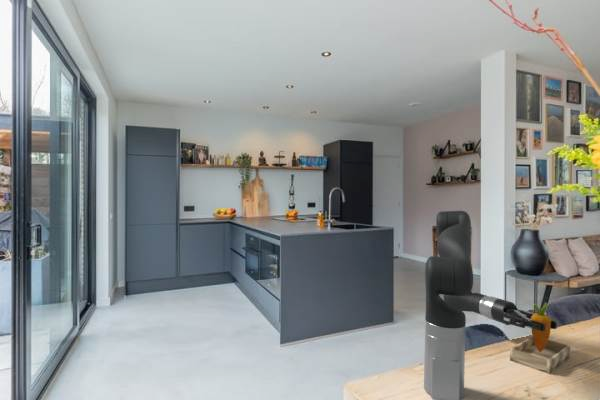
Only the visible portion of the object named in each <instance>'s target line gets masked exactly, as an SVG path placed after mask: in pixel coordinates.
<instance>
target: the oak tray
mask: <svg viewBox="0 0 600 400" xmlns="http://www.w3.org/2000/svg"><path fill="white" fill-rule="evenodd" d="M509 352H510V353H509V360H510V361H511V362H514V363H516V364H520V365H523V366H526V367H528V368H531V369H535V370H537V371H540V372H543V373H546V374H548V375H550V374H551V373H552V372H553V371H554V370H556V369H557V368H559V366H561V365H563V363H564V362H566V361H567V360H569V359H570V358H571V345H569V344H564V343H561V342H558V341H554V340H550V339H548V343H547V345H546V346H545V348H544V349H543V351H541V352H539V351H538V349H537V347H536V345H535V343H534V340H533V336H532V335H531V336H530V337H528V338H527V339H525V340H523V341H522V342H520V343H518V344H515V345H514V346H512V347H511V348H510V349H509Z"/></svg>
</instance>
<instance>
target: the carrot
mask: <svg viewBox="0 0 600 400" xmlns="http://www.w3.org/2000/svg"><path fill="white" fill-rule="evenodd" d="M533 307H534V309H535V310H536V312H537V313H535V314H533V315H532V317H531V320H534V321H537V322H540V323H543V324H545V331H540V330H537V329H534V328H531V337H532V336H533V340H534V343H535V345H536V347H537V349H538V351H539V352H541V351H543V349H544V348H545V346H546V345H547V343H548V340H550V339H549V338H550V334H551V329H552V328H551V320H552V319H551V317H550V316H548V315H546V311H547V308H548V303H547V302H544V303H543V305H542V307H539V306H538V304H536V303H533Z"/></svg>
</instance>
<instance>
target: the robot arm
mask: <svg viewBox="0 0 600 400" xmlns="http://www.w3.org/2000/svg"><path fill="white" fill-rule="evenodd" d="M435 222H436V232H437V237H438V238H437V242H436V252H437V254H438V256H437V255H436V256H435V255H434V256H433V255H432V256H429V257H428V258H427V259H426V262H425V268H424V273H425V275H424V280H425V281H424V282H425V317H424V318H425V323H424V355H423V356H424V357H423V358H424V362H423V363H424V364H423V368H424V369H423V389H424V391H426V393H427V394H429V395H430V398H431V399H435V400H462V399H463V398H464V397H465V366H466V365H465V362H466V358H465V357H466V321H467V317H466V314H465V312H471V313H472V312H473V313H475V314H478V315H480V316H484V317H485V318H487V319H490V320H493V321H495V322H499V323H500V324H504V325H508V326H509V325H511V326H515V327H518V328H522V329H524V328H527V329H532V328H534V329H537V330H540V331H545V324H543V323H540V322H537V321H534V320H531V317H532V315H533V314H535V313H538V312H537V311H535V310H531V309H529V310H528V311H527V310H525V309H518V308H517V305H516V304H515V303H514V302H512V301H510V300H505V299H502V298H498V297H495V296H489V295H485V294H482V293H479V292H472V289H473V287H474V271H473V265H472V261H471V251H472V247H471V246H472V245H471V238H470V235H471V228H472V221H471V217H470V215H469V213H468V212H466V211H464V210H446V211H445V210H444V211H439V212H437V214H436V221H435ZM440 295H443V298H442V297H441V296H440ZM557 328H558V322H557V321H556V320H555V321H554V320H552V319H551V329H552V330H556V329H557Z"/></svg>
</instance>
